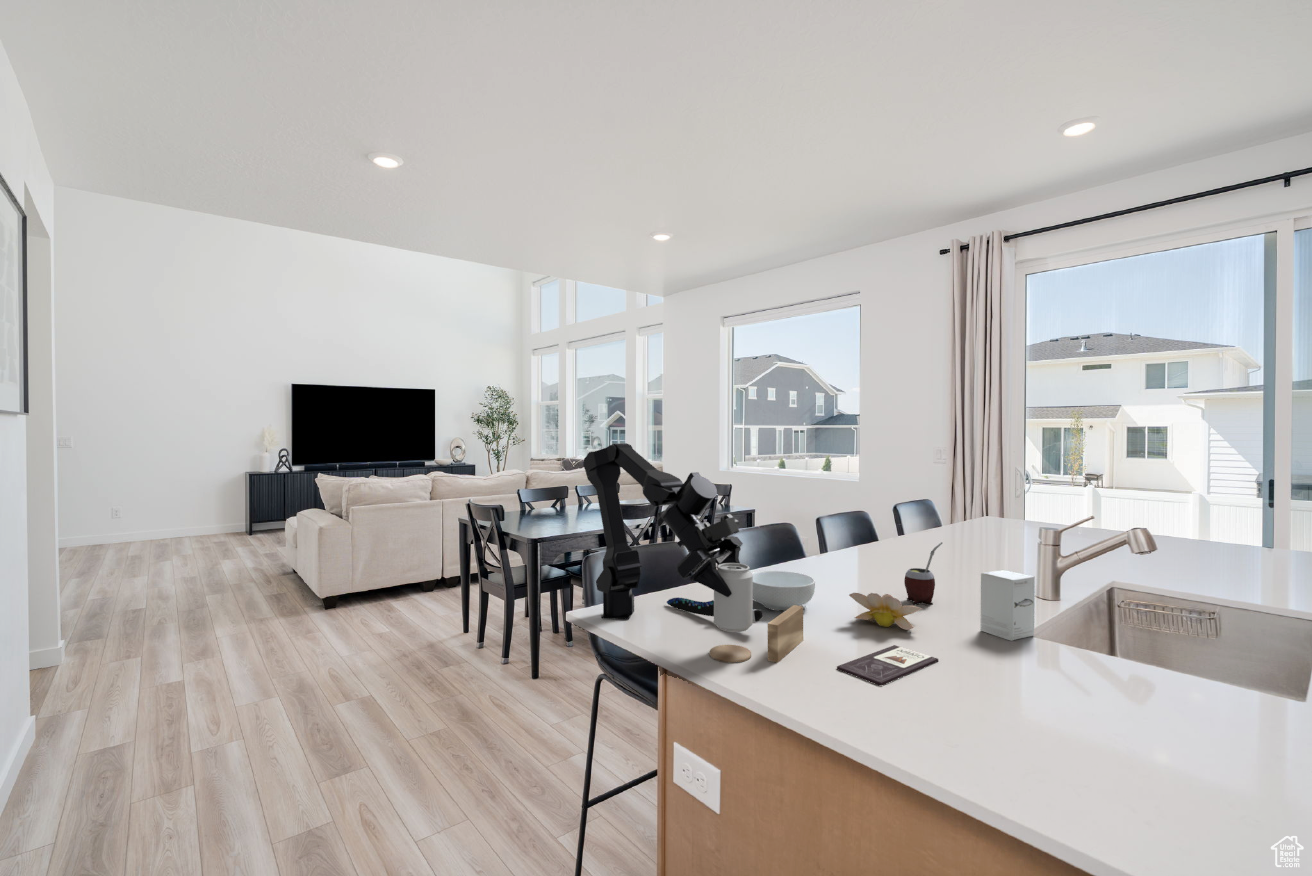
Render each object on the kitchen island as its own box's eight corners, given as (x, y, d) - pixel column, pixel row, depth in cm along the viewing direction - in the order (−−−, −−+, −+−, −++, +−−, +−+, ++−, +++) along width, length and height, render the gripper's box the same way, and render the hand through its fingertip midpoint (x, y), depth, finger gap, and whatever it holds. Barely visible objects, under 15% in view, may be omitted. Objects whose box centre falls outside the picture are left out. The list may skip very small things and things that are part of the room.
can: (755, 623, 118) (755, 562, 118) (748, 635, 111) (749, 571, 111) (718, 619, 121) (718, 559, 121) (709, 631, 114) (709, 568, 114)
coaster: (708, 661, 112) (708, 658, 112) (711, 646, 120) (710, 643, 120) (751, 663, 111) (751, 661, 111) (751, 648, 119) (751, 645, 119)
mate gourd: (899, 602, 150) (899, 542, 150) (913, 596, 155) (913, 538, 155) (929, 608, 144) (929, 546, 144) (943, 602, 150) (943, 542, 149)
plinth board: (767, 660, 112) (767, 623, 112) (793, 638, 124) (793, 604, 124) (777, 662, 111) (777, 625, 111) (803, 640, 123) (803, 606, 123)
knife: (766, 629, 126) (764, 608, 126) (756, 632, 124) (754, 610, 124) (675, 611, 150) (674, 593, 150) (666, 613, 148) (665, 595, 149)
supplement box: (1012, 641, 122) (1012, 579, 121) (979, 630, 128) (979, 572, 128) (1035, 636, 125) (1036, 576, 124) (1002, 626, 131) (1002, 568, 131)
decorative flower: (936, 616, 132) (929, 574, 131) (920, 641, 124) (913, 597, 123) (870, 608, 142) (862, 569, 141) (851, 631, 134) (843, 590, 133)
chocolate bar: (836, 666, 108) (894, 644, 119) (836, 671, 108) (894, 649, 119) (881, 682, 101) (938, 658, 112) (881, 688, 101) (938, 663, 112)
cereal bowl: (823, 616, 139) (823, 586, 139) (751, 616, 139) (751, 586, 139) (805, 596, 156) (805, 569, 156) (741, 596, 156) (741, 569, 156)
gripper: (690, 507, 110) (746, 575, 104) (733, 497, 126) (784, 555, 120) (654, 545, 114) (706, 612, 109) (700, 531, 130) (747, 589, 124)
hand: (738, 590), depth 115 cm, fingers closed on can, 7 cm apart
